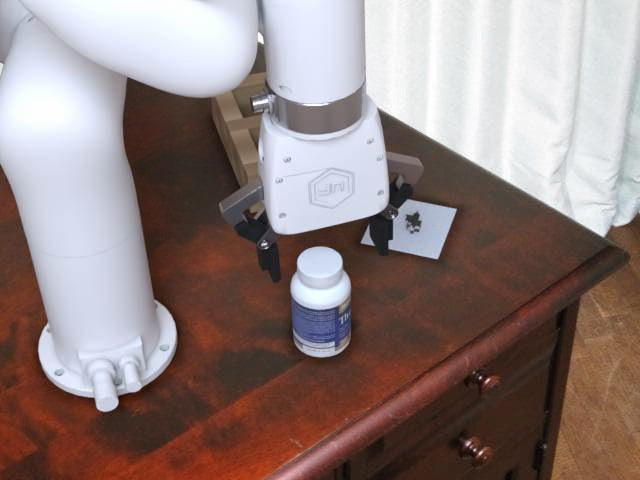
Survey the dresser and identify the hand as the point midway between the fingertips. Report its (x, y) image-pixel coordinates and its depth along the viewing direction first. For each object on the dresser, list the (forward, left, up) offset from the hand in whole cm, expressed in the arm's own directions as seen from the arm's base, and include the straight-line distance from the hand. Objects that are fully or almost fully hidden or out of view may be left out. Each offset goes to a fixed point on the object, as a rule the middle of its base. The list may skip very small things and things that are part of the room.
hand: (326, 258), depth 100 cm
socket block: (+28, -2, -10) cm, 30 cm away
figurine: (+12, -13, -10) cm, 20 cm away
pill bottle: (0, +1, -10) cm, 10 cm away
